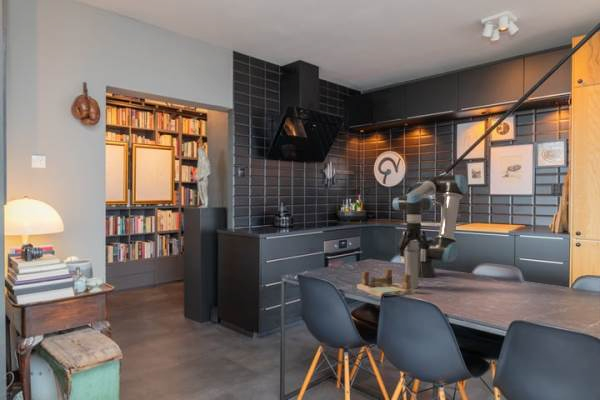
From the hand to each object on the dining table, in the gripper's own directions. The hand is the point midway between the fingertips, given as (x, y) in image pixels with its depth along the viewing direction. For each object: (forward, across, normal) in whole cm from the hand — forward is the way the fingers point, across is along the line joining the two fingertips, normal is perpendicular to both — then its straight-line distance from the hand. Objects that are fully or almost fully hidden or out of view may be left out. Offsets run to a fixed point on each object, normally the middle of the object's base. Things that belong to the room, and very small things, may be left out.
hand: (413, 261), depth 210 cm
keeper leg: (+12, +19, -3) cm, 23 cm away
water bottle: (+14, 0, 0) cm, 14 cm away
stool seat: (+14, +18, -1) cm, 23 cm away
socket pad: (+12, +22, +5) cm, 26 cm away
